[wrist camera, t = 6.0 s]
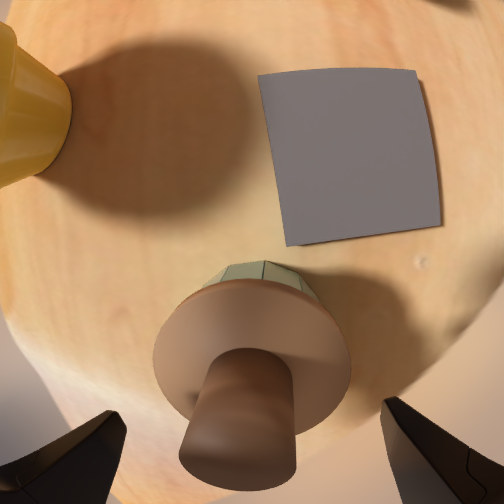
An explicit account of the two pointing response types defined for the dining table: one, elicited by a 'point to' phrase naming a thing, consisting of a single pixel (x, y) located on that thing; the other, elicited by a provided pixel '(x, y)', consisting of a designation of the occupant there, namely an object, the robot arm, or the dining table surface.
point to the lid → (249, 378)
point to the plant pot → (29, 112)
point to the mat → (350, 152)
